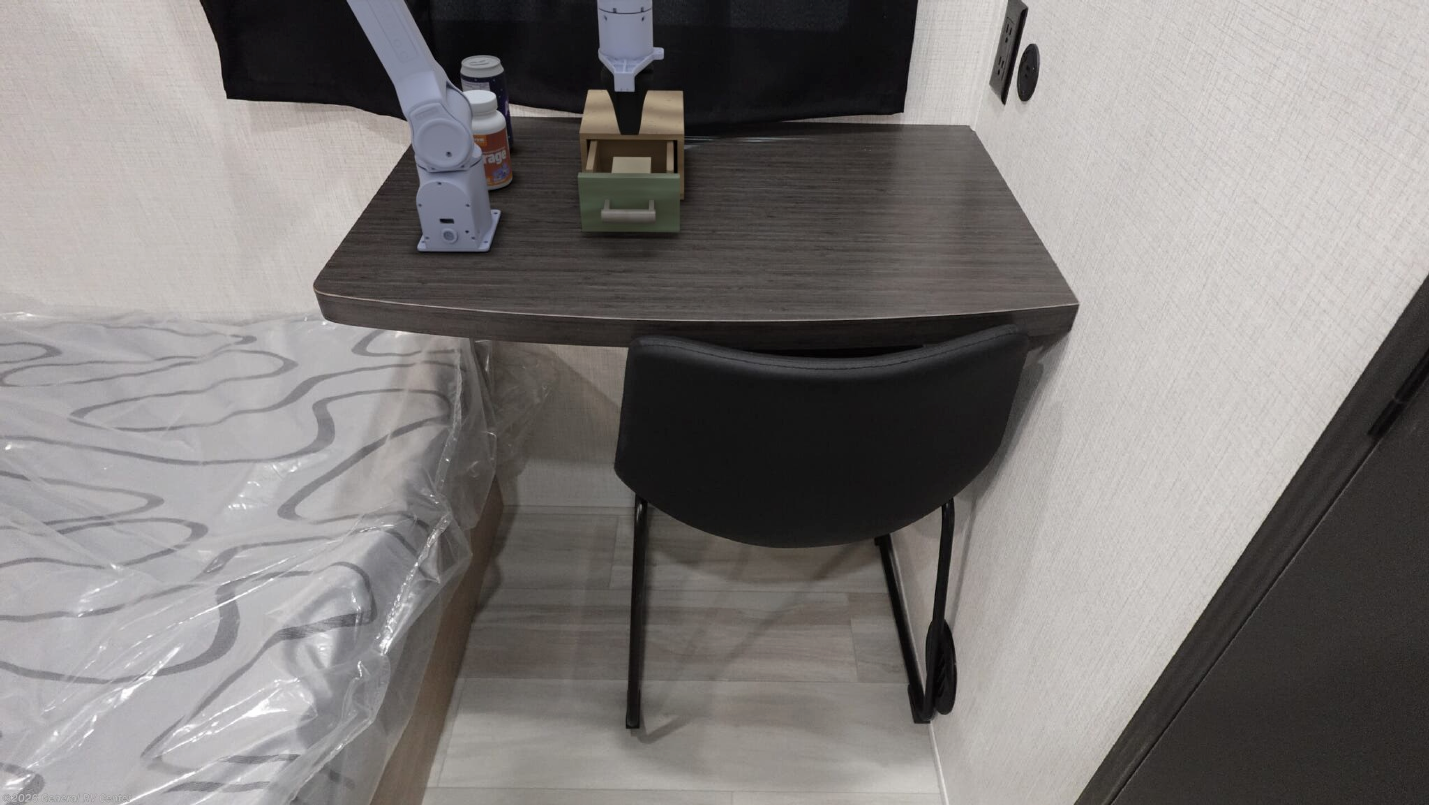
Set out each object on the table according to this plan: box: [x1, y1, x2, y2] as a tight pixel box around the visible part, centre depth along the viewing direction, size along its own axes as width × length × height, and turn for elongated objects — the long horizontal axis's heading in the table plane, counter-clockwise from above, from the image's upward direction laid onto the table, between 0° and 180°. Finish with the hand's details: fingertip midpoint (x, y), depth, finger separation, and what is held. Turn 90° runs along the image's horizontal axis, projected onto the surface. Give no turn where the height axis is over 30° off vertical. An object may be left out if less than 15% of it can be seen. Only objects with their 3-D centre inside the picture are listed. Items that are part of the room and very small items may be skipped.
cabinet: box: [578, 89, 685, 200], centre depth 109 cm, size 15×13×9 cm
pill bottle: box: [462, 90, 513, 191], centre depth 105 cm, size 6×6×11 cm
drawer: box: [577, 139, 681, 233], centre depth 99 cm, size 18×11×7 cm, turn 2°
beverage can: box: [459, 54, 515, 150], centre depth 113 cm, size 6×6×12 cm
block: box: [612, 157, 651, 173], centre depth 100 cm, size 4×4×4 cm
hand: (629, 132), depth 96 cm, fingers closed
